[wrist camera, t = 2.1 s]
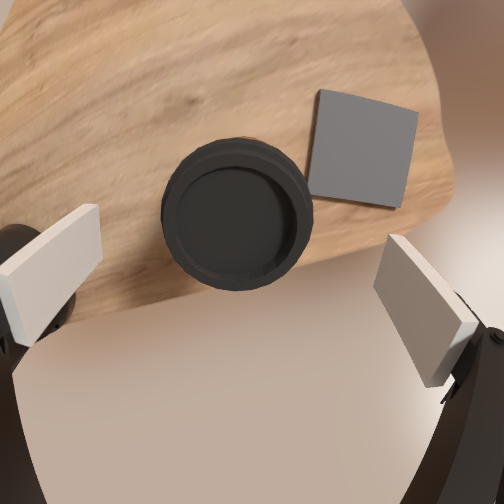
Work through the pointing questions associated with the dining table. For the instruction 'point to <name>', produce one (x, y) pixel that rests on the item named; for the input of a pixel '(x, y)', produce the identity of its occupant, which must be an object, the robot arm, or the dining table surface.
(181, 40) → the dining table surface
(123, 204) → the dining table surface
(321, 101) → the coaster
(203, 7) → the dining table surface
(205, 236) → the coffee cup
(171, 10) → the dining table surface
